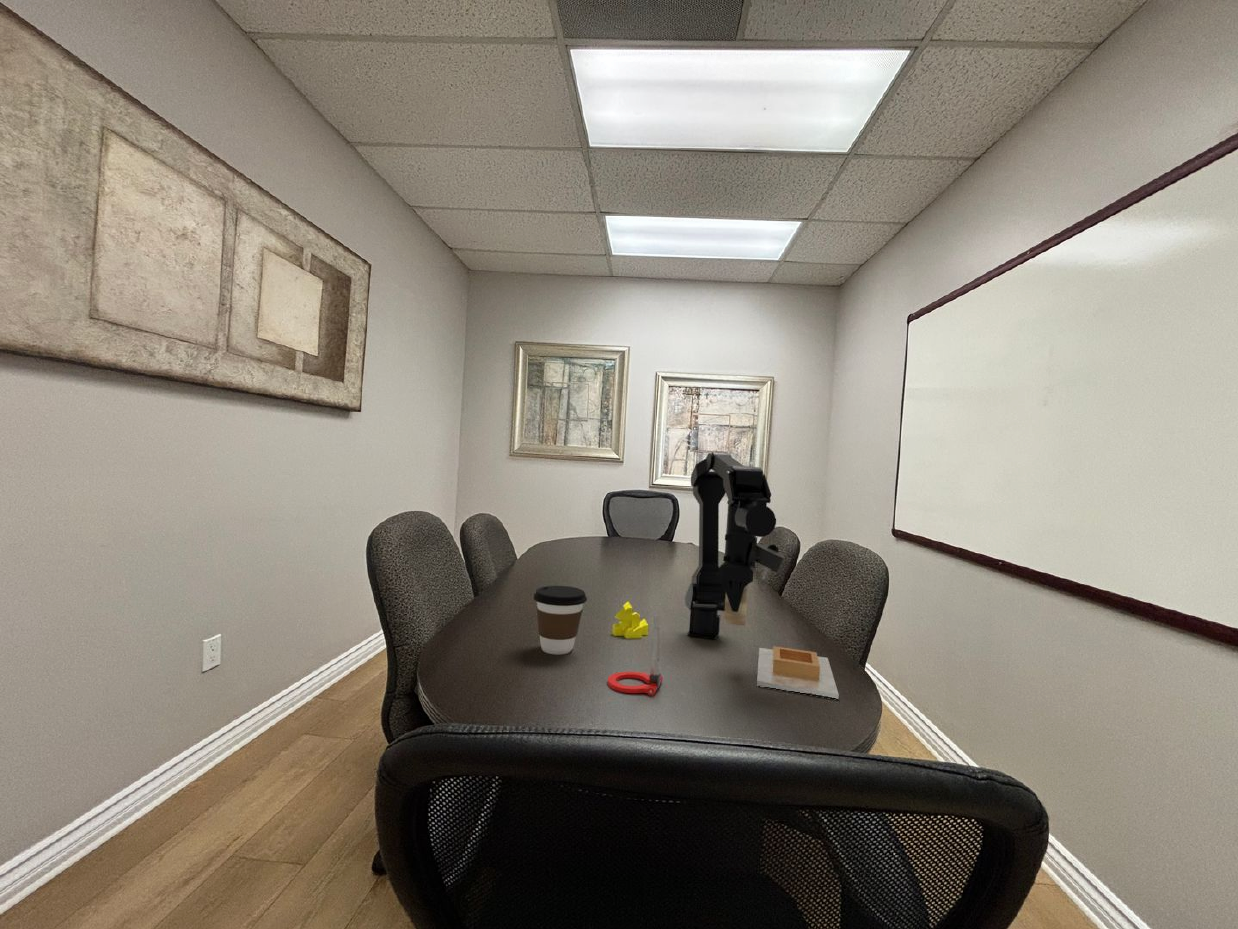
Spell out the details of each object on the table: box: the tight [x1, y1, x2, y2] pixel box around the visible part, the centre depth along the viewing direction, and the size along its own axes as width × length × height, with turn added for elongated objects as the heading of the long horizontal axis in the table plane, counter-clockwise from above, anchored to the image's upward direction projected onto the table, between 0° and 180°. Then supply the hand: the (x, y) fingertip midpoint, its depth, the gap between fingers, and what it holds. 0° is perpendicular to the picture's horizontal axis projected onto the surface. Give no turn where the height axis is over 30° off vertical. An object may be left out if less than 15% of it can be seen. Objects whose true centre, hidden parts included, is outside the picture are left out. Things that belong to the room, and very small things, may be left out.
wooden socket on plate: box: [756, 645, 840, 700], centre depth 110 cm, size 14×20×4 cm
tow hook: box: [607, 614, 663, 697], centre depth 99 cm, size 8×13×9 cm
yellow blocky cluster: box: [612, 601, 649, 640], centre depth 128 cm, size 6×8×8 cm
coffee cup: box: [533, 585, 588, 655], centre depth 114 cm, size 11×11×12 cm
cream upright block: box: [723, 584, 749, 627], centre depth 110 cm, size 4×4×8 cm
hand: (735, 608), depth 110 cm, fingers closed on cream upright block, 4 cm apart
